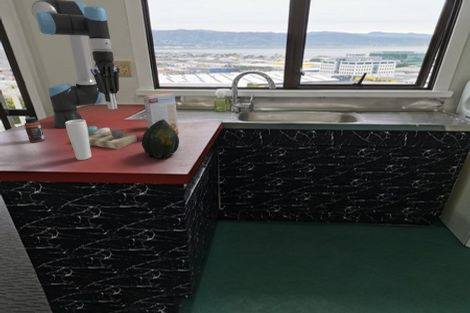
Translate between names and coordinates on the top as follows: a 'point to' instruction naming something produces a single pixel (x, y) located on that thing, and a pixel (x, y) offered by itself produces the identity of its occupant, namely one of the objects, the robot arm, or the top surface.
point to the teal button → (92, 129)
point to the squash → (160, 139)
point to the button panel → (111, 140)
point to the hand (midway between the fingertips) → (112, 108)
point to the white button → (104, 131)
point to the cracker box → (161, 109)
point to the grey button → (117, 133)
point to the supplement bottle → (33, 130)
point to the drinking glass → (79, 138)
